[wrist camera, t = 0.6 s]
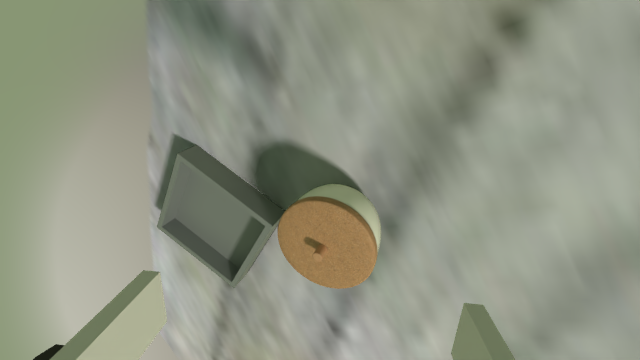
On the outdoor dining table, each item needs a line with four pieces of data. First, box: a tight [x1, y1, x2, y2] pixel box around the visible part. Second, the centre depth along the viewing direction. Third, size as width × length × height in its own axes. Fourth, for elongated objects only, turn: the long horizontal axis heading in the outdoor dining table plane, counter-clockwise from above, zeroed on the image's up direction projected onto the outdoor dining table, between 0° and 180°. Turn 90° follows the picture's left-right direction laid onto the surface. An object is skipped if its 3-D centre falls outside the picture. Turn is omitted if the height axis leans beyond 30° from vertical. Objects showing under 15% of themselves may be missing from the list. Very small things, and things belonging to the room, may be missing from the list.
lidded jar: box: [278, 184, 381, 289], centre depth 33 cm, size 11×11×9 cm
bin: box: [157, 145, 285, 288], centre depth 44 cm, size 16×16×4 cm
